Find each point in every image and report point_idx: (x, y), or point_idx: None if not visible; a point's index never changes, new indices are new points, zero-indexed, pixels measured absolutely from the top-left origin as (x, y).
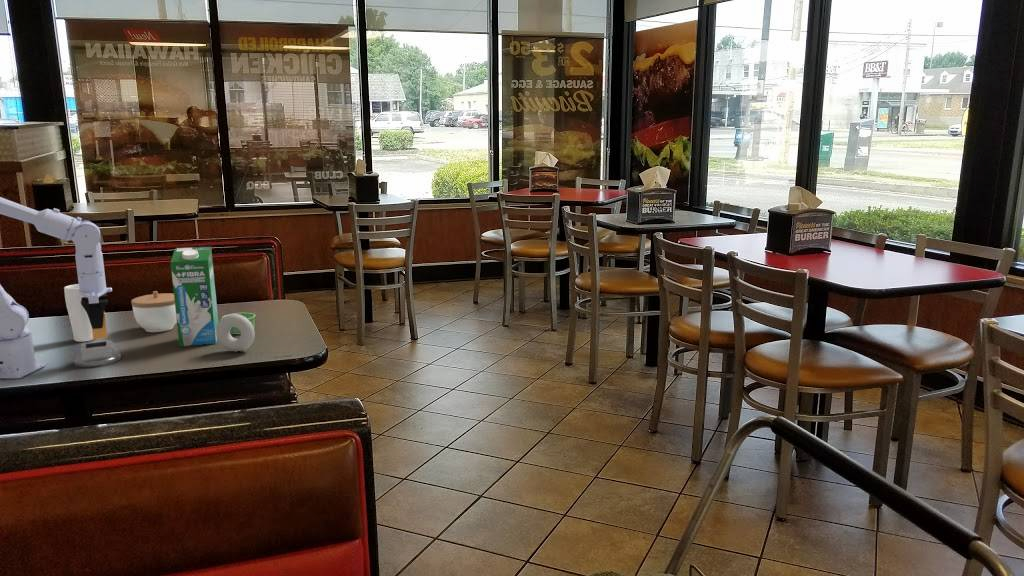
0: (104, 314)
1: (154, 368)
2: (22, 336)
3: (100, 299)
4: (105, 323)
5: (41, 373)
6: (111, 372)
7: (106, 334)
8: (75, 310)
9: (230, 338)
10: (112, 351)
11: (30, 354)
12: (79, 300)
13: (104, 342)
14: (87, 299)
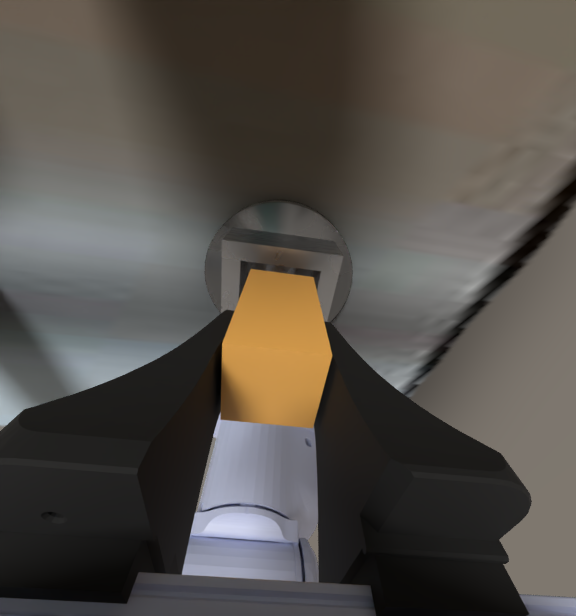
0: (329, 354)
1: (549, 101)
2: (294, 523)
3: (170, 474)
4: (322, 314)
5: None
6: (445, 258)
7: (314, 284)
8: None
9: None
10: (237, 226)
11: (277, 446)
12: None
13: (240, 266)
14: (177, 561)
